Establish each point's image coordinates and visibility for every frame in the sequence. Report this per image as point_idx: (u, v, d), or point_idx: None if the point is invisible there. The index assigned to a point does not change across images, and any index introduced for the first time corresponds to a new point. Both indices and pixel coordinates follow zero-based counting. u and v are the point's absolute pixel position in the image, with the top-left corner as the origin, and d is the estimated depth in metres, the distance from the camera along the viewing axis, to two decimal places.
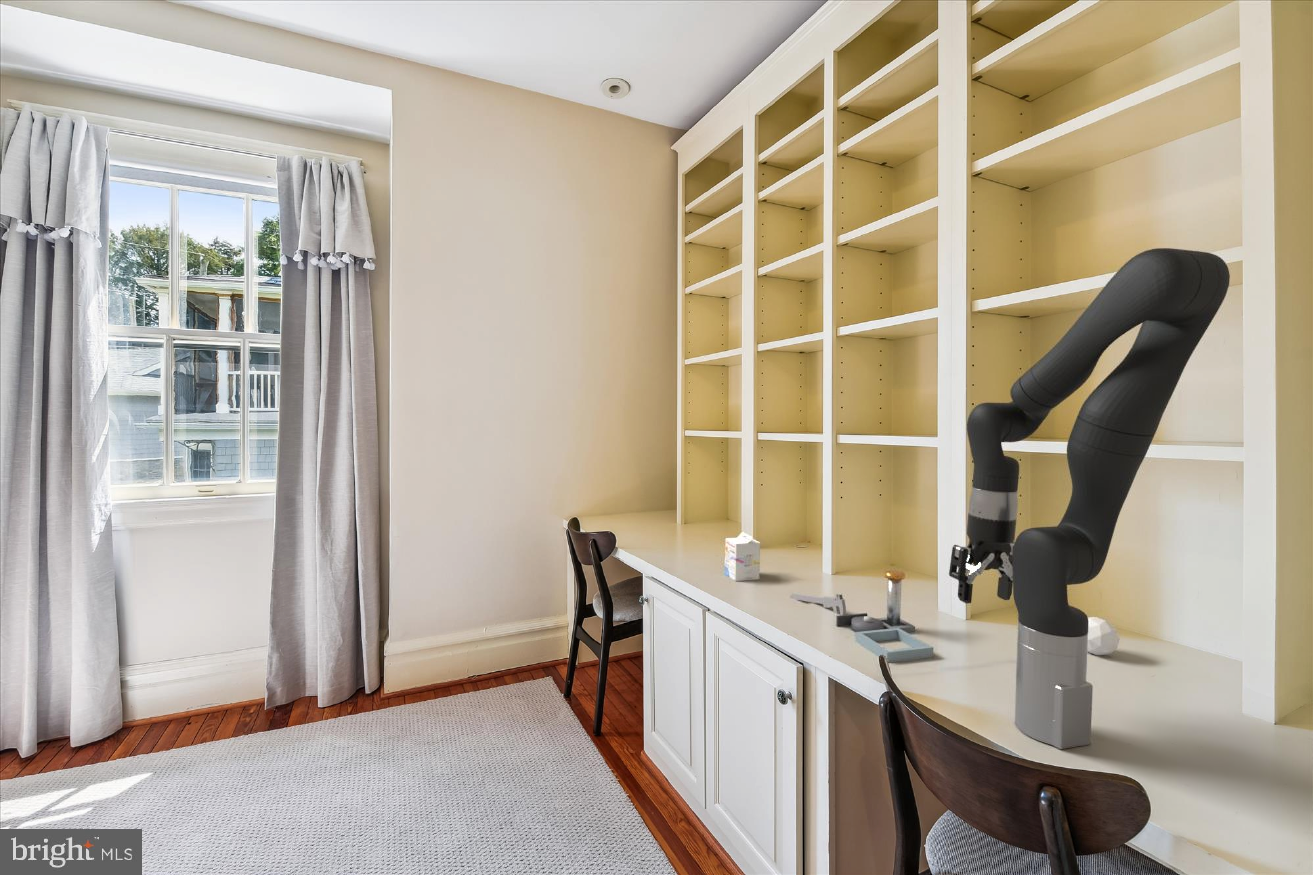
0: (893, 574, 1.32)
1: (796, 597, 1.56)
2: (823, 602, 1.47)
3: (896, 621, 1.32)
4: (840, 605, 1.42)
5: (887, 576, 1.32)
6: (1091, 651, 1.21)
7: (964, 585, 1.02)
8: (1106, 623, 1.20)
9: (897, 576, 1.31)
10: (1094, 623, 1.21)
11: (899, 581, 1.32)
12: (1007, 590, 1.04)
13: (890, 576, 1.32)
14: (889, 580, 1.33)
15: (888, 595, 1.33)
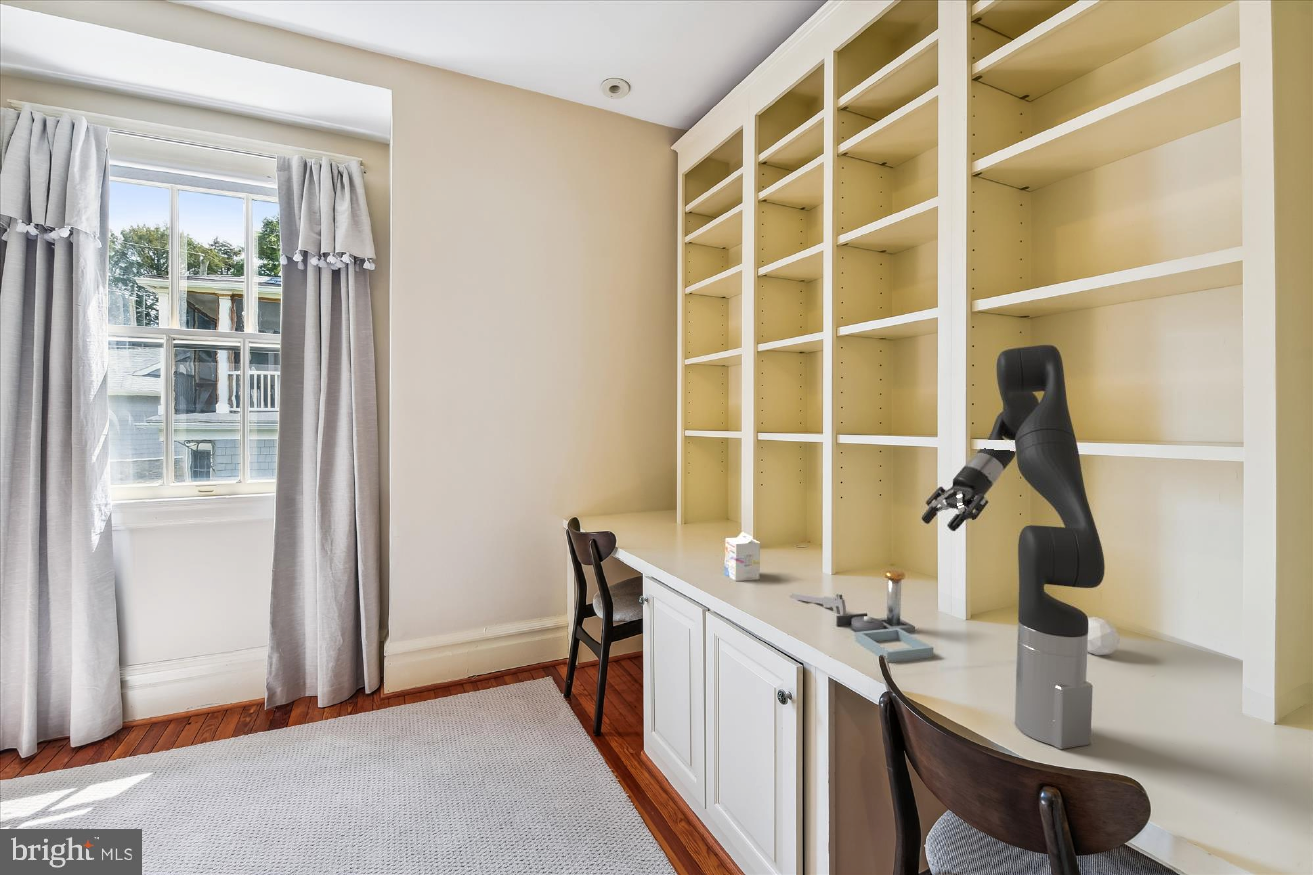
0: (893, 574, 1.32)
1: (796, 597, 1.56)
2: (823, 602, 1.47)
3: (896, 621, 1.32)
4: (840, 605, 1.42)
5: (887, 576, 1.32)
6: (1091, 651, 1.21)
7: (928, 509, 1.41)
8: (1106, 623, 1.20)
9: (897, 576, 1.31)
10: (1094, 623, 1.21)
11: (899, 581, 1.32)
12: (952, 519, 1.32)
13: (890, 576, 1.32)
14: (889, 580, 1.33)
15: (888, 595, 1.33)
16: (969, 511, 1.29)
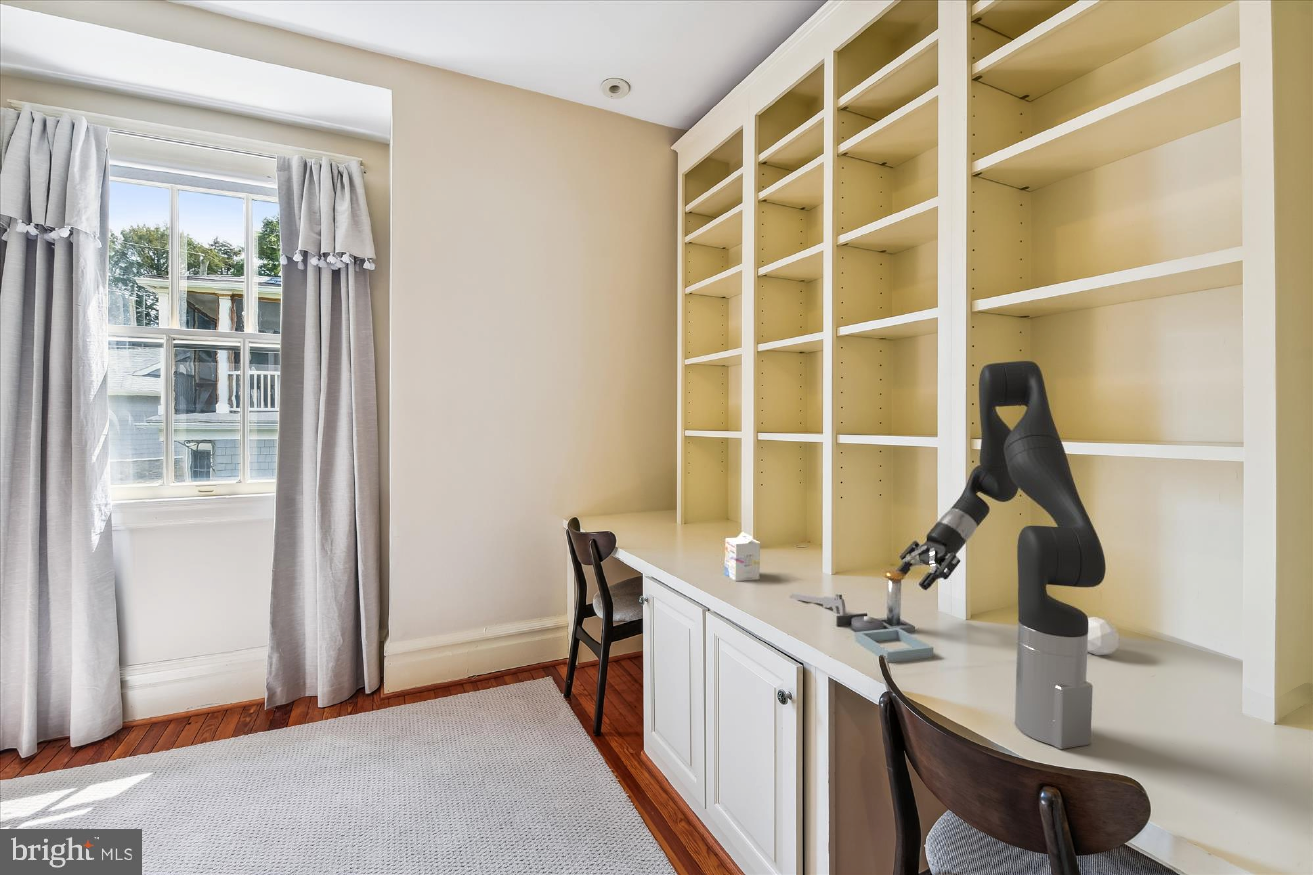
0: (893, 574, 1.32)
1: (796, 597, 1.56)
2: (823, 602, 1.47)
3: (896, 621, 1.32)
4: (840, 605, 1.42)
5: (887, 576, 1.32)
6: (1091, 651, 1.21)
7: (902, 563, 1.40)
8: (1106, 623, 1.20)
9: (897, 576, 1.31)
10: (1094, 623, 1.21)
11: (899, 581, 1.32)
12: (923, 578, 1.30)
13: (890, 576, 1.32)
14: (889, 580, 1.33)
15: (888, 595, 1.33)
16: (940, 571, 1.28)
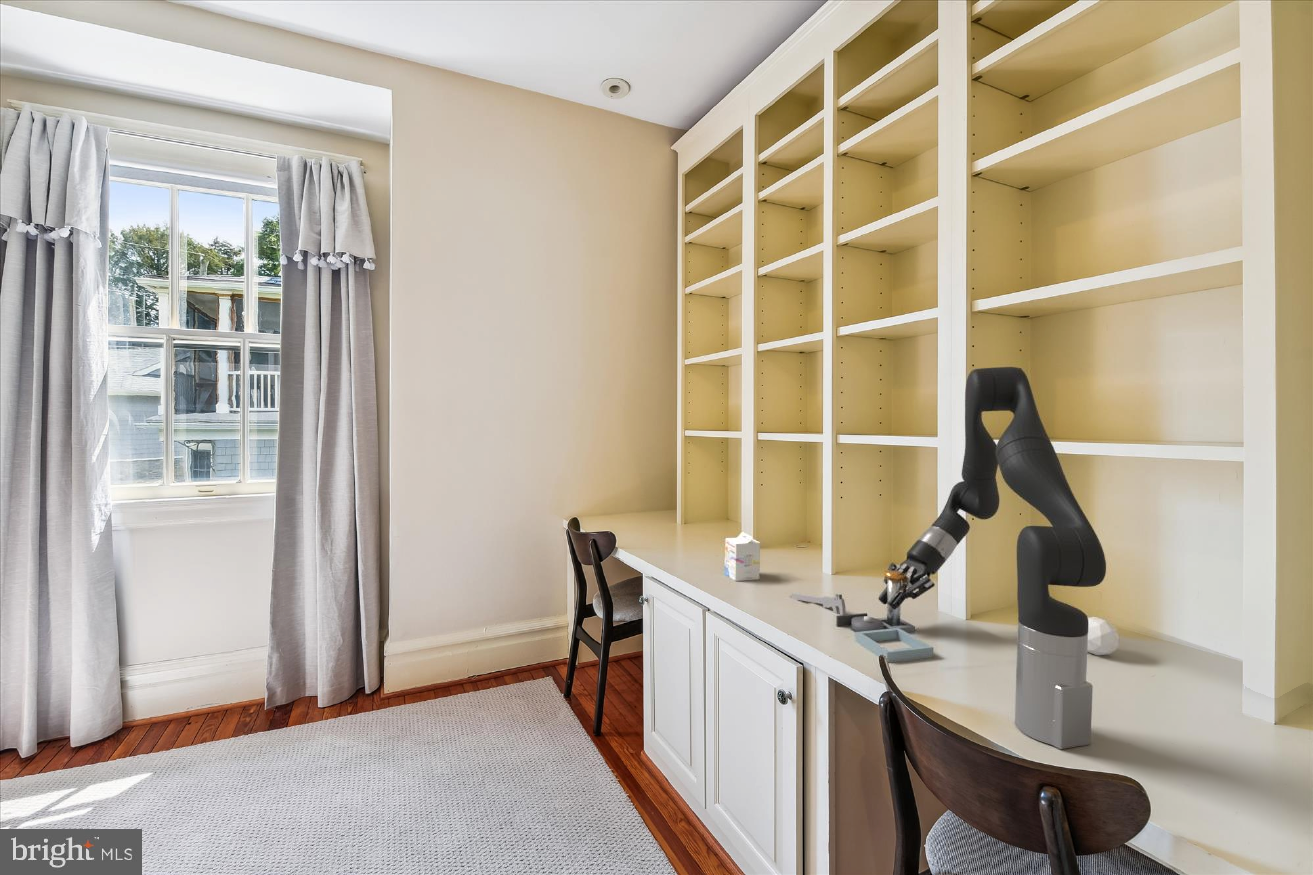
0: (893, 574, 1.32)
1: (796, 597, 1.57)
2: (823, 602, 1.47)
3: (896, 621, 1.32)
4: (840, 605, 1.42)
5: (887, 576, 1.32)
6: (1091, 651, 1.21)
7: (886, 588, 1.36)
8: (1106, 623, 1.20)
9: (897, 576, 1.31)
10: (1094, 623, 1.21)
11: (899, 581, 1.32)
12: (893, 597, 1.31)
13: (890, 576, 1.32)
14: (889, 580, 1.33)
15: (888, 595, 1.33)
16: (908, 591, 1.29)
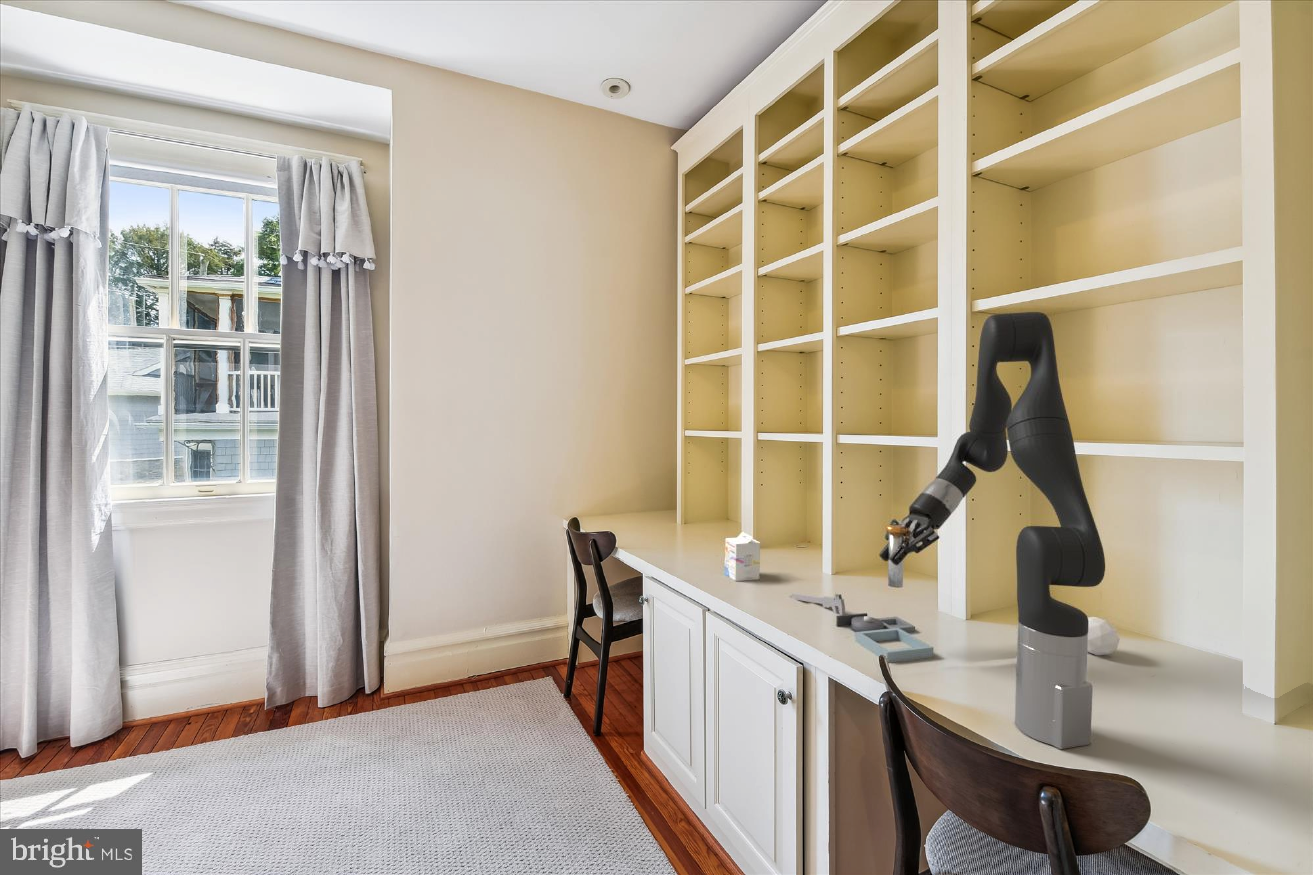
0: (895, 527, 1.23)
1: (795, 597, 1.57)
2: (822, 602, 1.47)
3: (898, 578, 1.23)
4: (839, 605, 1.42)
5: (888, 530, 1.24)
6: (1091, 651, 1.21)
7: (887, 544, 1.27)
8: (1106, 623, 1.20)
9: (899, 529, 1.22)
10: (1094, 623, 1.21)
11: (901, 535, 1.23)
12: (894, 552, 1.23)
13: (891, 530, 1.23)
14: (890, 534, 1.24)
15: (889, 551, 1.24)
16: (911, 544, 1.20)
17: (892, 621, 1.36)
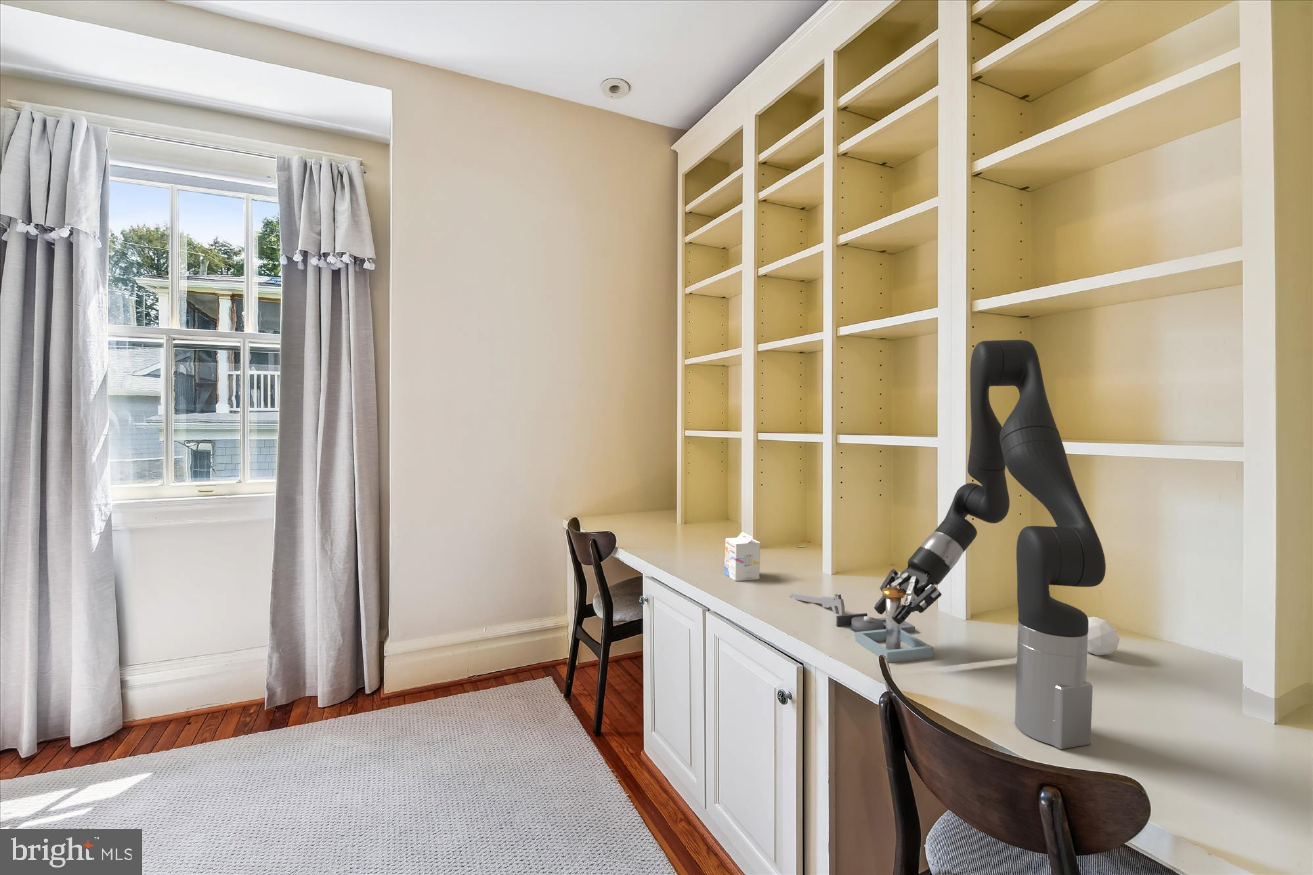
0: (892, 592, 1.20)
1: (795, 597, 1.57)
2: (822, 602, 1.47)
3: (896, 643, 1.20)
4: (839, 605, 1.42)
5: (885, 594, 1.20)
6: (1091, 651, 1.21)
7: (882, 596, 1.25)
8: (1106, 623, 1.20)
9: (896, 594, 1.19)
10: (1094, 623, 1.21)
11: (898, 600, 1.20)
12: (897, 610, 1.18)
13: (888, 595, 1.19)
14: (887, 599, 1.20)
15: (887, 615, 1.21)
16: (915, 604, 1.16)
17: None
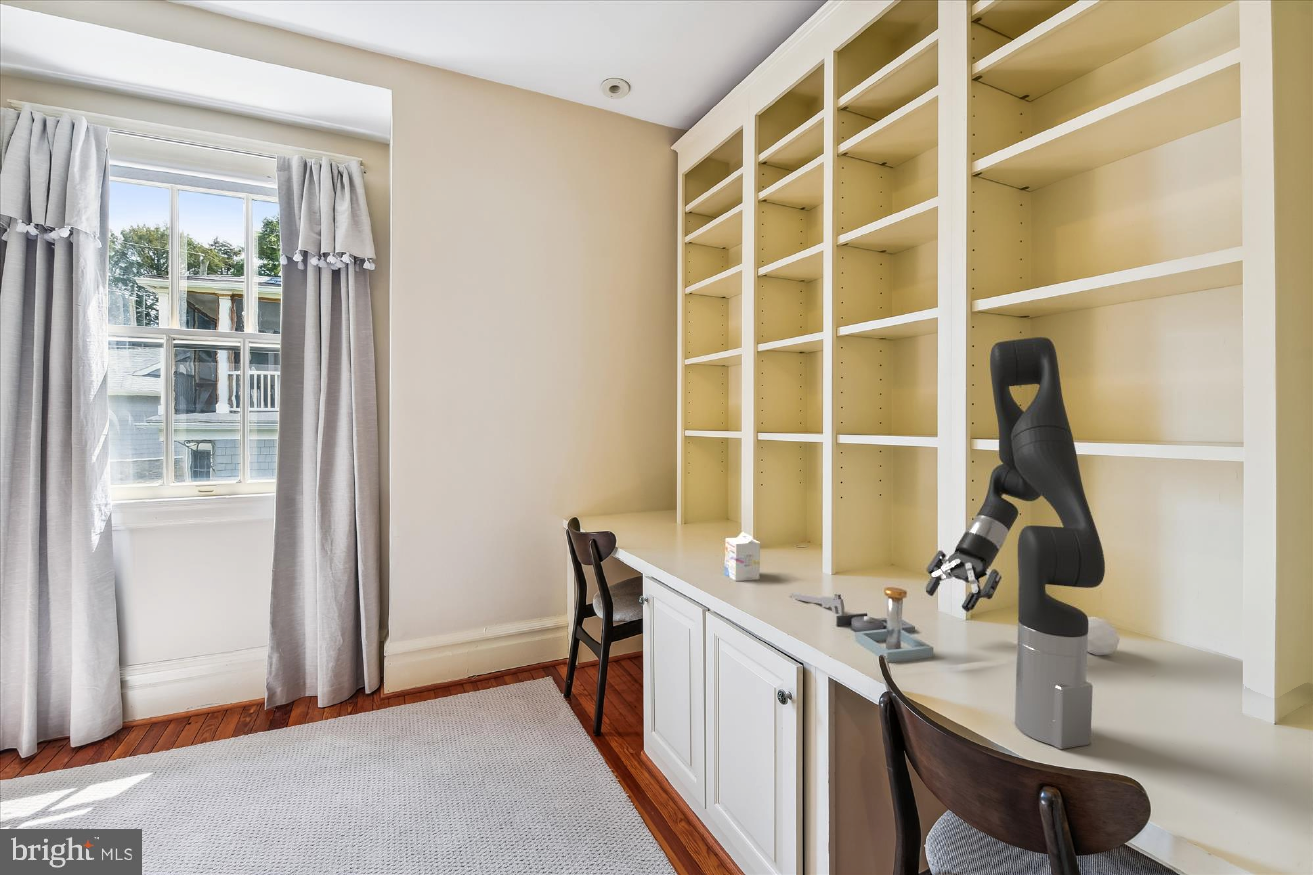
0: (894, 592, 1.20)
1: (795, 597, 1.57)
2: (822, 602, 1.47)
3: (896, 643, 1.20)
4: (838, 605, 1.42)
5: (887, 594, 1.20)
6: (1091, 651, 1.21)
7: (931, 578, 1.28)
8: (1106, 623, 1.20)
9: (898, 594, 1.19)
10: (1094, 623, 1.21)
11: (900, 600, 1.20)
12: (966, 599, 1.20)
13: (890, 594, 1.19)
14: (889, 598, 1.20)
15: (888, 615, 1.21)
16: (986, 592, 1.18)
17: None
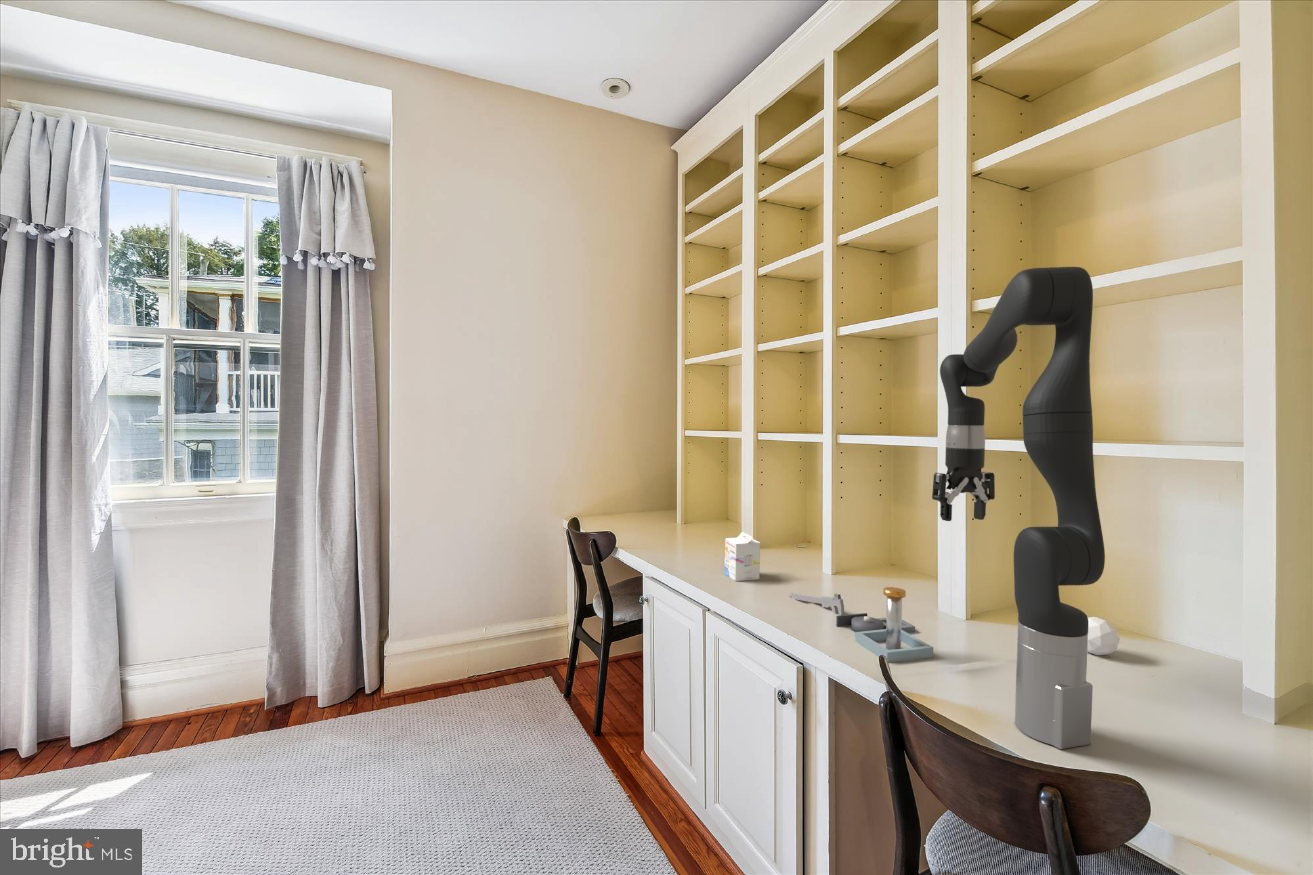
0: (893, 591, 1.20)
1: (795, 597, 1.57)
2: (822, 602, 1.47)
3: (896, 643, 1.20)
4: (838, 605, 1.42)
5: (886, 594, 1.20)
6: (1091, 651, 1.21)
7: (945, 505, 1.22)
8: (1106, 623, 1.20)
9: (897, 594, 1.19)
10: (1094, 623, 1.21)
11: (899, 599, 1.20)
12: (981, 511, 1.24)
13: (889, 594, 1.20)
14: (888, 598, 1.21)
15: (887, 614, 1.21)
16: (993, 497, 1.25)
17: None
